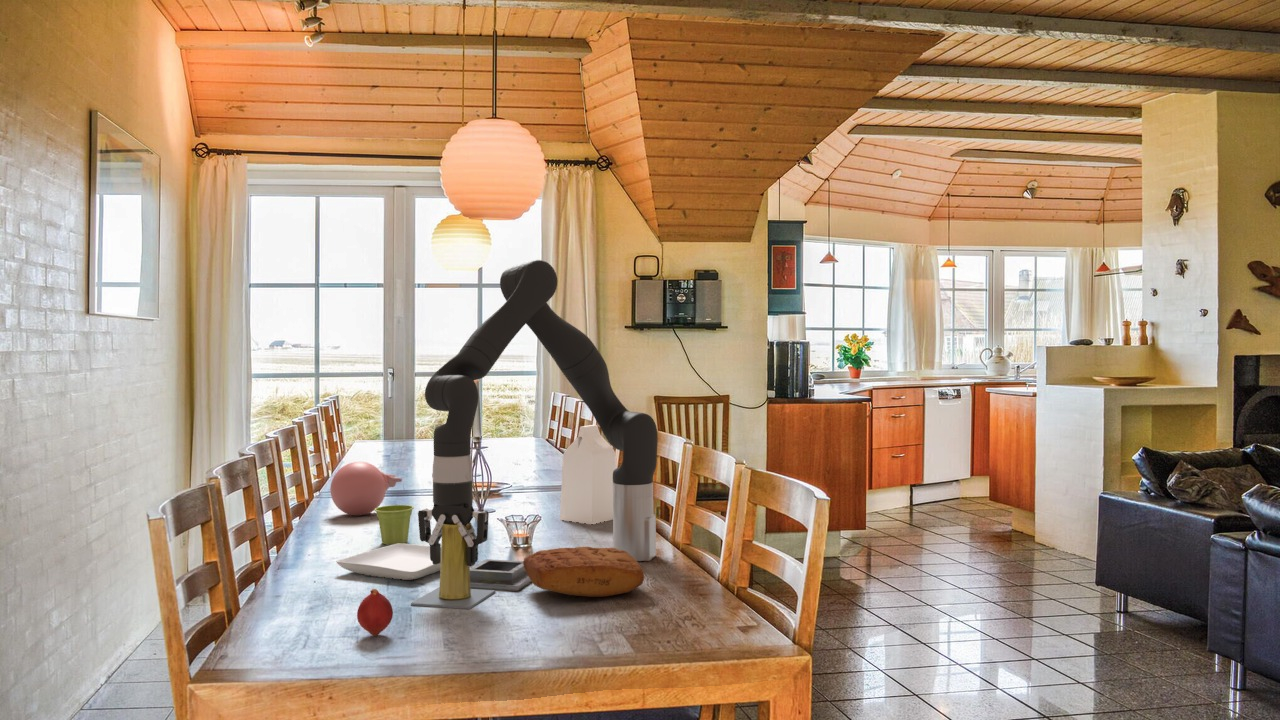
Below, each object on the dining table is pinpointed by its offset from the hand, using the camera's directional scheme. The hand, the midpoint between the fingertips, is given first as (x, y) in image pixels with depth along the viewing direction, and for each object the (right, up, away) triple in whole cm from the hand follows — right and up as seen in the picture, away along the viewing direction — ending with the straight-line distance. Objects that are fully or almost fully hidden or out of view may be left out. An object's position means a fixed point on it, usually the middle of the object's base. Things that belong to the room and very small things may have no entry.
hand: (453, 564), depth 182 cm
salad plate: (-15, -7, +25) cm, 30 cm away
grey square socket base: (+7, -6, +14) cm, 17 cm away
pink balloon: (-43, -5, +91) cm, 100 cm away
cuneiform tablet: (+25, -7, +4) cm, 26 cm away
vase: (0, -6, 0) cm, 6 cm away
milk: (+22, -5, +81) cm, 84 cm away
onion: (-9, -7, -22) cm, 25 cm away
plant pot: (-25, -6, +52) cm, 58 cm away
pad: (0, -7, 0) cm, 7 cm away
